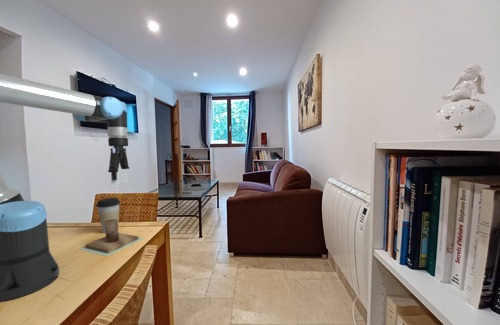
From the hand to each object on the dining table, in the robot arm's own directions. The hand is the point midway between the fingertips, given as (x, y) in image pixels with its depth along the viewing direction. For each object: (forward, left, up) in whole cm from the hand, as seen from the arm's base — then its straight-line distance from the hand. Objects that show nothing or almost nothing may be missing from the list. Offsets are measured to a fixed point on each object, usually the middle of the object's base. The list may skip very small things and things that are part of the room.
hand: (120, 185), depth 100 cm
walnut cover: (-10, -7, -22) cm, 25 cm away
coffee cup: (-1, +7, -22) cm, 23 cm away
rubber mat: (-10, -7, -22) cm, 25 cm away
